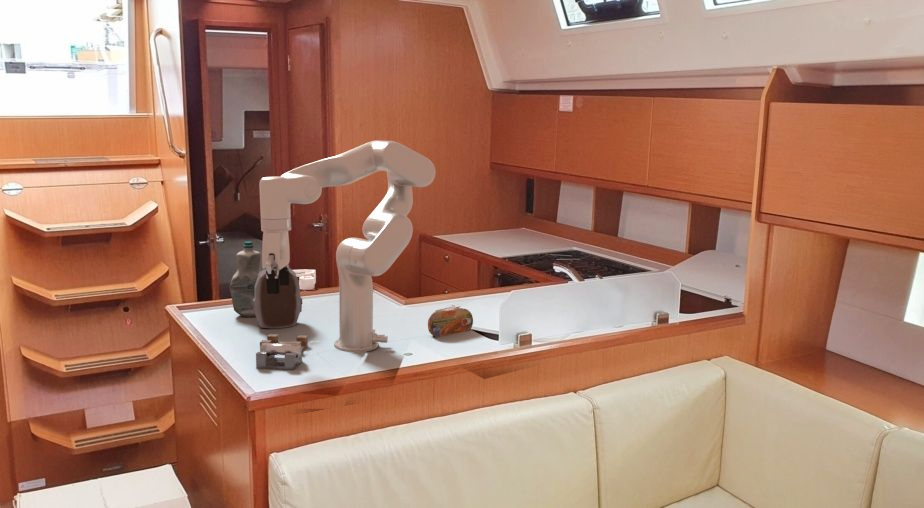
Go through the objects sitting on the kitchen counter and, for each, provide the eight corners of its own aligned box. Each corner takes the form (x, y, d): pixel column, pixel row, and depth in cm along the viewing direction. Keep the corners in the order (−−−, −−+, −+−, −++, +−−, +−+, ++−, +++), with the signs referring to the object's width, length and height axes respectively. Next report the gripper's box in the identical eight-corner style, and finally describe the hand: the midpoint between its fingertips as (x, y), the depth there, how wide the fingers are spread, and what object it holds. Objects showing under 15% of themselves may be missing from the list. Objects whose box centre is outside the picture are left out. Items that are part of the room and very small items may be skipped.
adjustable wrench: (441, 316, 243) (441, 310, 243) (423, 314, 246) (423, 309, 246) (473, 309, 266) (473, 304, 266) (457, 308, 268) (457, 303, 268)
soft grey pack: (253, 332, 230) (252, 267, 227) (252, 325, 238) (250, 262, 235) (304, 328, 235) (303, 265, 232) (300, 322, 243) (300, 260, 239)
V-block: (302, 361, 202) (302, 347, 202) (294, 370, 195) (294, 355, 195) (265, 359, 203) (265, 345, 202) (256, 368, 196) (255, 353, 195)
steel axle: (300, 356, 200) (301, 345, 201) (297, 355, 197) (298, 343, 198) (263, 355, 201) (264, 343, 201) (259, 353, 198) (261, 342, 198)
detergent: (270, 313, 253) (269, 239, 249) (273, 318, 247) (272, 242, 243) (229, 316, 248) (227, 240, 244) (231, 321, 242) (229, 243, 238)
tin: (431, 340, 226) (431, 313, 224) (426, 338, 228) (426, 310, 227) (473, 334, 234) (474, 307, 232) (467, 331, 236) (468, 305, 235)
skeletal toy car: (266, 296, 278) (265, 276, 277) (262, 290, 288) (261, 271, 287) (320, 293, 286) (320, 274, 285) (314, 287, 296) (314, 268, 295)
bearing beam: (307, 345, 217) (307, 335, 216) (299, 354, 209) (299, 343, 208) (269, 344, 218) (269, 334, 217) (260, 352, 209) (259, 342, 209)
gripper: (271, 219, 205) (273, 281, 208) (251, 229, 188) (254, 296, 191) (298, 220, 204) (300, 282, 207) (281, 229, 187) (284, 297, 190)
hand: (278, 289), depth 199 cm, fingers open, 9 cm apart
